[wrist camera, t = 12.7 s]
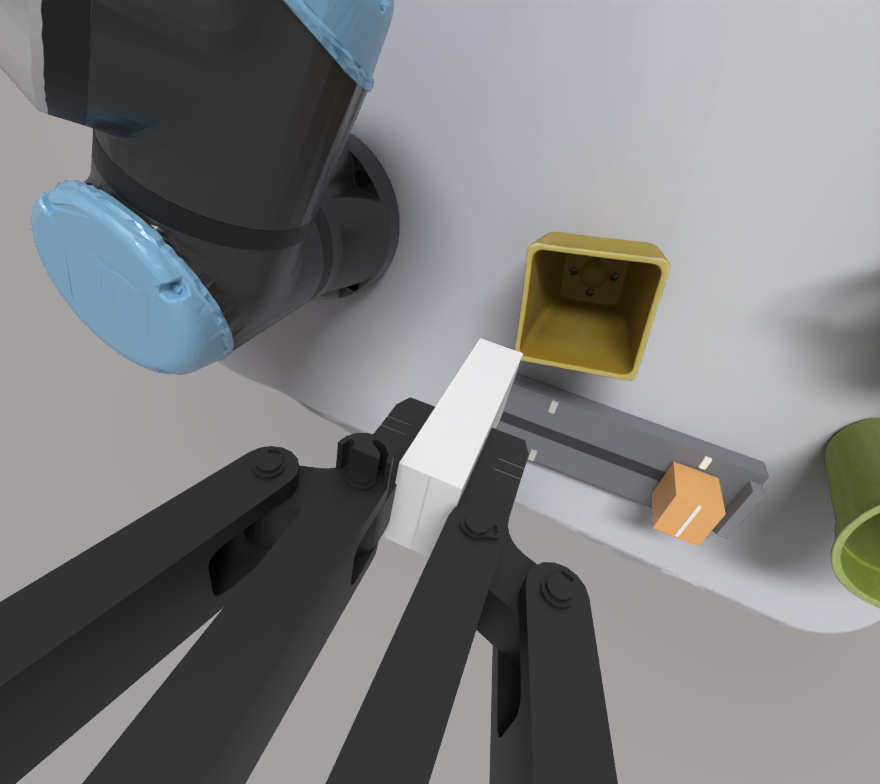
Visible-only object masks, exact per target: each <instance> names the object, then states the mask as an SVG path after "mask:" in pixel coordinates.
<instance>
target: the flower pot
mask: <svg viewBox="0 0 880 784" xmlns="http://www.w3.org/2000/svg"><path fill="white" fill-rule="evenodd" d="M597 257H599V258H597ZM572 268H577V270H578V271H577V273H576V274H572V273H571V269H572ZM669 269H670V263H669V261H668V260H667V259H666V257H665V256H664V255H663V253H662V252H661V251H660V249H659V248H658V247H657V246H655V245H653V244H651V243H646V242H636V241H627V240H618V239H608V238H600V237H592V236H584V235H576V234H569V233H562V232H551V233H548V234H546V235H545V236H543V237H541V238H540V239H538V240H537V241H536V242H534V243H532V244H531V245H530V246H529V248H528V251H527V259H526V269H525V279H524V288H523V297H522V304H521V311H520V318H519V324H518V331H517V337H516V343H515V351H518V352H521V353H523V355H522V358H521V360H522V361H527V362H532V363H538V364H543V365H548V366H554V367H559V368H564V369H570V370H575V371H580V372H585V373H590V374H595V375H600V376H605V377H610V378H615V379H621V380H629V381H632V380H634V379H635V377H636V376H637V374H638V371H639V367H640V364H641V360H642V357H643V353H644V350H645V347H646V343H647V340H648V337H649V334H650V330H651V327H652V324H653V320H654V317H655V314H656V311H657V308H658V305H659V301H660V298H661V295H662V292H663V290H664V287H665V283H666V280H667V277H668V273H669ZM613 273H616V274H617V275H618V278H617V279H615V280H613V279H611V274H613ZM588 289H592V290H593V294H592V295H588V294H587V293H586V291H587V290H588Z"/></svg>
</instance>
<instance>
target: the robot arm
mask: <svg viewBox="0 0 880 784" xmlns="http://www.w3.org/2000/svg"><path fill="white" fill-rule="evenodd" d="M393 10H394V0H0V68H1V69H2V70H3V71H4V73H5V74H6V75H7V76H8V77H9V78H10V79H11V80H12V82H13V83H14V84H15V85H16V86H17V87H18V88H19V90H20V91H21V92H22V93H23V94H24V95H25V96H26V97H27V99H28V100H29V101H30V102H31V103H32V104H33V105H34V107H35V108H36V109H37V110H39V111H40V112H43V113H46V114H48V115H52V116H55V117H59V118H62V119H65V120H69V121H72V122H75V123H79V124H82V125H85V126H87V127H91V128H93V144H92V160H91V173H90V176H89V177H88V179H87V180H86V181H84V182H81V181H78V180H76V181H62V182H59V183H58V185H57V186H56V187H55V188H54V189H53V190H50V191H47V192H44V193H43V194H42V195H40V196H39V197H38V199H37V200H36V201H35V203H34V206H33V211H32V215H31V225H32V233H33V238H34V242H35V244H36V248H37V251H38V254H39V256H40V259H41V261H42V263H43V265H44V267H45V269H46V271H47V273H48V275H49V277H50V278H51V280H52V282H53V283H54V285H55V286H56V288H57V290H58V291H59V292H60V294H61V295H62V297H63V298H64V299H65V300H66V302H67V303H68V304H69V306H70V307H71V309H72V310H73V311H74V312H75V313H76V315H77V316H78V317H79V318H80V319H81V320H82V321H83V322H84V324H85V325H86V326H88V328H89V329H91V330H92V331H93V332H94V333H95V334H96V335H97V336H98V337H99V338H100V339H101V340H102V341H104V342H105V343H106V344H107V345H108V346H110V347H111V348H112V349H114V350H115V351H117V352H118V353H119V354H121V355H122V356H124V357H125V358H127V359H129V360H130V361H132V362H134V363H136V364H138V365H140V366H142V367H144V368H147V369H149V370H152V371H155V372H159V373H167V374H169V373H172V374H179V375H182V374H187V373H191V372H194V371H197V370H199V369H200V368H203V367H205V366H207V365H209V364H211V363H213V362H216V361H218V360H222V359H224V358H226V357H228V356H229V355H230V354H231V352H232V351H233V350H235V349H236V348H238V347H239V346H241V345H242V344H244V343H245V342H247V341H249V340H250V339H252V338H253V337H255V336H256V335H258V334H259V333H261V332H262V331H264V330H265V329H267V328H268V327H270V326H271V325H273V324H275V323H276V322H278V321H279V320H281V319H282V318H284V317H285V316H287V315H288V314H290V313H291V312H293V311H294V310H296V309H297V308H299V307H301V306H302V305H304V304H305V303H307V302H308V301H310V300H321V299H334V298H342V297H347V296H350V295H353V294H355V293H358V292H360V291H361V290H363V289H365V288H366V287H367V286H369V285H370V284H372V283H373V282H374V281H376V280H377V279H378V278H379V277H380V276H381V275H382V274H383V273H384V272H385V270H386V269H387V267H388V266H389V264H390V262H391V260H392V258H393V256H394V253H395V250H396V247H397V243H398V237H399V213H398V206H397V201H396V197H395V194H394V191H393V188H392V185H391V183H390V180H389V178H388V176H387V174H386V172H385V170H384V169H383V167H382V165H381V164H380V162H379V161H378V159H377V158H376V157H375V155H374V154H373V153H372V152H371V151H370V150H369V148H368V147H367V146H366V145H365V144H364V143H362V142H361V141H360V140H359V139H358V138H356V137H355V136H354V135H352V134H351V133H350V132H351V130H352V127H353V125H354V122H355V120H356V118H357V115H358V113H359V110H360V108H361V106H362V103H363V101H364V98H365V96H366V93H367V92H371V90H372V88H373V83H374V81H373V78H372V76H373V73H374V70H375V67H376V63H377V60H378V58H379V55H380V52H381V49H382V46H383V43H384V40H385V38H386V35H387V32H388V29H389V26H390V23H391V20H392V16H393ZM522 355H523V353H521V352H518V351H515V350H512V349H509V348H506V347H504V346H501V345H498V344H495V343H492V342H489V341H487V340H484V339H481V338H480V339H479V341H478V342H477V344H476V345H475V347H474V349H473V350H472V352H471V353H470V355H469V356H468V358H467V359H466V361H465V362H464V364H463V365H462V367H461V369H460V370H459V372H458V373H457V375H456V376H455V378H454V379H453V381H452V382H451V384H450V385H449V387H448V389H447V390H446V392H445V393H444V395H443V396H442V398H441V399H440V401H439V402H438V404H437V405H436V407H434V406H432V405H429V404H426V403H424V402H421V401H419V400H416V399H413V398H411V397H410V398H408V399H406V400H404V401H402V402H400V403H398V404H397V405H396V406H395V407H394V408H393V410H392V411H391V412H390V414H389V415H388V417H386V419H385V420H384V421H383V423H382V425H381V426H379V428H378V429H377V430H376V432H375V433H374V434H369V433H355V434H352V435H349V436H346V437H345V438H343V439H342V440H340V441H339V442H338V450H337V462H336V468H329V469H324V468H314V467H306V466H299V463H298V459H297V457H296V456H295V455H294V454H293V453H292V452H291V451H288V450H286V449H284V448H281V447H273V446H269V447H261V448H258V449H256V450H253V451H251V452H249V453H247V454H245V455H244V456H242V457H240V458H239V459H237V460H235V461H234V462H232V463H230V464H229V465H227V466H226V467H224V468H222V469H220V470H219V471H217V472H216V473H214V474H212V475H211V476H209V477H207V478H206V479H204V480H202V481H201V482H199V483H197V484H196V485H194V486H192V487H191V488H189V489H187V490H186V491H184V492H182V493H181V494H179V495H177V496H176V497H174V498H172V499H171V500H169V501H167V502H166V503H164V504H162V505H161V506H159V507H157V508H156V509H154V510H152V511H151V512H149V513H147V514H146V515H144V516H142V517H141V518H139V519H137V520H136V521H134V522H132V523H131V524H129V525H128V526H126V527H124V528H122V529H121V530H119V531H117V532H116V533H114V534H113V535H111V536H109V537H107V538H106V539H104V540H102V541H101V542H99V543H98V544H96V545H94V546H92V547H91V548H89V549H88V550H86V551H84V552H83V553H81V554H79V555H78V556H76V557H74V558H73V559H71V560H69V561H68V562H66V563H64V564H63V565H61V566H60V567H58V568H56V569H54V570H53V571H51V572H49V573H48V574H46V575H44V576H43V577H41V578H39V579H38V580H36V581H34V582H33V583H31V584H29V585H28V586H26V587H24V588H23V589H21V590H19V591H18V592H16V593H14V594H13V595H11V596H9V597H8V598H6V599H4V600H3V601H1V602H0V784H16V783H17V782H18V781H19V780H20V779H21V778H23V777H24V776H25V775H26V774H27V773H29V772H30V771H31V770H32V769H33V768H34V767H36V766H37V765H38V764H39V763H40V762H41V761H43V760H44V759H45V758H46V757H47V756H49V755H50V754H51V753H52V752H53V751H55V749H57V748H58V747H59V746H60V745H62V744H63V743H64V742H65V741H66V740H67V739H69V738H70V737H71V736H72V735H73V734H74V733H76V732H77V731H78V730H79V729H80V728H82V727H83V726H84V725H85V724H86V723H88V722H89V721H90V720H91V719H92V718H94V717H95V716H96V715H97V714H98V713H99V712H100V711H102V710H103V709H104V708H105V707H106V706H108V705H109V704H110V703H111V702H112V701H114V700H115V699H116V698H117V697H118V696H119V695H121V694H122V693H123V692H124V691H125V690H127V689H128V688H129V687H130V686H131V685H132V684H134V683H135V682H136V681H137V680H138V679H139V678H140V677H142V676H143V675H144V674H145V673H146V672H148V671H149V670H150V669H151V668H153V667H154V666H155V665H156V664H157V663H158V662H159V661H161V660H162V659H163V658H164V657H166V656H167V655H168V654H169V653H170V652H171V651H173V650H174V649H175V648H176V647H177V646H179V645H180V644H181V643H182V642H183V641H184V640H186V639H187V638H188V637H189V636H190V635H192V634H193V633H194V632H195V631H196V630H197V629H199V628H200V627H201V626H202V625H203V624H205V623H206V622H207V621H208V620H209V619H210V618H212V617H213V616H214V615H215V614H216V613H217V612H219V611H220V610H221V609H222V608H223V607H224V608H223V609H222V610H221V612H220V613H219V614H218V615H217V617H216V618H215V619H214V620H213V622H212V623H211V624H210V625H209V627H208V628H207V629H206V630H205V631H204V633H203V634H202V635H201V636H200V638H199V639H198V640H197V641H196V643H195V644H194V645H193V646H192V648H191V649H190V650H189V652H188V653H187V654H186V655H185V657H184V658H183V659H182V660H181V661H180V663H179V664H178V665H177V666H176V668H175V669H174V670H173V672H172V673H171V674H170V675H169V676H168V678H167V679H166V680H165V681H164V683H163V684H162V685H161V686H160V688H159V689H158V690H157V691H156V692H155V694H154V695H153V696H152V697H151V699H150V700H149V701H148V702H147V704H146V705H145V706H144V707H143V709H142V710H141V711H140V712H139V714H138V715H137V716H136V717H135V719H134V720H133V721H132V722H131V724H130V725H129V726H128V727H127V729H126V730H125V731H124V732H123V734H122V735H121V736H120V737H119V739H118V740H117V741H116V742H115V744H114V745H113V746H112V747H111V748H110V750H109V751H108V752H107V753H106V755H105V756H104V757H103V759H102V760H101V761H100V762H99V763H98V765H97V766H96V767H95V768H94V770H93V771H92V772H91V773H90V775H89V776H88V777H87V778H86V780H85V781H84V782H83V783H82V784H245V783H246V782H247V780H248V778H249V776H250V774H251V772H252V771H253V769H254V767H255V766H256V764H257V762H258V760H259V759H260V757H261V755H262V753H263V752H264V750H265V748H266V746H267V745H268V743H269V741H270V739H271V738H272V736H273V734H274V732H275V731H276V729H277V727H278V725H279V723H280V722H281V720H282V718H283V716H284V715H285V713H286V711H287V709H288V708H289V706H290V704H291V702H292V700H293V699H294V697H295V695H296V693H297V692H298V690H299V688H300V687H301V685H302V683H303V681H304V680H305V678H306V676H307V674H308V672H309V671H310V669H311V667H312V665H313V664H314V662H315V660H316V658H317V657H318V655H319V653H320V651H321V650H322V648H323V646H324V644H325V643H326V641H327V639H328V637H329V636H330V634H331V632H332V630H333V628H334V627H335V625H336V623H337V621H338V620H339V618H340V616H341V614H342V612H343V611H344V609H345V607H346V605H347V604H348V602H349V600H350V598H351V597H352V595H353V593H354V592H355V589H356V588H357V586H358V584H359V583H360V581H361V579H362V577H363V576H364V574H365V572H366V570H367V569H368V567H369V565H370V563H371V562H372V560H373V558H374V556H375V554H376V550H377V546H378V541H379V539H380V538H381V536H382V534H383V533H384V531H385V529H386V533H385V538H387V539H389V540H391V541H393V542H395V543H398V544H400V545H402V546H404V547H407V548H409V549H411V550H414V551H416V552H418V553H420V554H422V555H425V556H427V557H429V559H428V561H427V564H426V566H425V568H424V570H423V572H422V575H421V577H420V579H419V581H418V583H417V585H416V588H415V590H414V592H413V594H412V597H411V599H410V601H409V603H408V605H407V607H406V609H405V612H404V614H403V616H402V618H401V621H400V623H399V625H398V627H397V629H396V631H395V634H394V636H393V638H392V640H391V642H390V644H389V647H388V649H387V651H386V653H385V655H384V658H383V660H382V662H381V664H380V666H379V668H378V671H377V673H376V675H375V677H374V679H373V681H372V684H371V686H370V688H369V690H368V693H367V695H366V697H365V699H364V701H363V703H362V706H361V708H360V710H359V712H358V714H357V717H356V719H355V721H354V723H353V725H352V728H351V730H350V732H349V734H348V736H347V738H346V741H345V743H344V745H343V747H342V749H341V751H340V754H339V756H338V758H337V760H336V763H335V765H334V767H333V769H332V771H331V773H330V775H329V778H328V780H327V782H326V784H429V780H430V777H431V774H432V770H433V767H434V764H435V761H436V758H437V754H438V751H439V748H440V745H441V742H442V738H443V735H444V732H445V728H446V726H447V722H448V719H449V716H450V713H451V709H452V706H453V703H454V700H455V696H456V693H457V690H458V687H459V684H460V680H461V677H462V674H463V671H464V667H465V664H466V661H467V658H468V654H469V651H470V648H471V645H472V642H473V638H474V635H475V632H476V630H477V631H479V633H481V634H482V635H483V636H484V637H485V638H486V639H487V640H488V641H489V642H490V643H491V644H493V657H492V701H491V745H490V746H491V747H490V784H618V782H617V775H616V769H615V763H614V756H613V749H612V743H611V736H610V730H609V723H608V717H607V711H606V704H605V697H604V691H603V684H602V678H601V671H600V665H599V658H598V652H597V645H596V639H595V633H594V626H593V619H592V614H591V606H590V600H589V596H588V593H587V590H586V587H585V585H584V584H583V583H582V581H581V580H580V579H579V577H578V576H577V575H576V574H574V573H573V572H572V571H571V570H569V569H568V568H567V567H565V566H562V565H559V564H556V563H548V562H543V563H541V564H538V565H537V564H536V563H535V562H533V561H532V560H531V559H529V558H528V557H527V556H525V555H524V554H523V553H522V552H521V551H520V550H519V549H518V548H517V547H516V545H515V544H514V543H513V541H512V539H511V537H510V534H509V530H508V521H509V516H510V513H511V510H512V507H513V503H514V500H515V497H516V494H517V490H518V487H519V484H520V480H521V478H522V474H523V471H524V468H525V465H526V461H527V458H528V455H529V453H528V449H527V445H526V441H525V440H523V439H521V438H518V437H516V436H513V435H510V434H508V433H505V432H502V431H500V430H497V429H496V427H497V425H498V423H499V420H500V418H501V416H502V413H503V410H504V407H505V404H506V401H507V398H508V396H509V393H510V390H511V387H512V384H513V381H514V378H515V375H516V373H517V370H518V367H519V364H520V361H521V358H522ZM386 527H387V528H386Z"/></svg>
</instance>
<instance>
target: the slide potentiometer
mask: <svg viewBox="0 0 880 784" xmlns="http://www.w3.org/2000/svg"><path fill="white" fill-rule="evenodd" d="M496 429H497V430H500V431H502V432H505V433H508V434H510V435H513V436H516V437H518V438H521V439H523V440H525V441H526V445H527V449H528V453H529V455H528V458H527V459H528V460H531V461H534V462H537V463H539V464H542V465H545V466H547V467H550V468H552V469H555V470H557V471H560V472H562V473H565V474H568V475H570V476H573V477H575V478H578V479H580V480H583V481H586V482H588V483H591V484H593V485H596V486H598V487H601V488H603V489H606V490H609V491H611V492H614V493H616V494H619V495H621V496H624V497H627V498H629V499H632V500H634V501H637V502H639V503H642V504H644V505H647V506H650V507H652V492H653V491H654V489H655V488H656V486H657V485H658V483H659V482H660V480H661V479H662V478H663V476H664V475H665V473H666V472H667V470H668V469H669V467H670V466H671V464H672V463H673V461H674V462H676V463H679V464H682V465H684V466H687V467H690V468H693V469H695V470H698V471H701V472H703V473H706V474H709V475H711V476H714V477H717V478H719V483H720V488H721V493H722V498H723V503H724V508H725V513H726V514H725V516H724V517H723V518H722V519H721V520H720V521H719V523H718V524H717V525H716V526H715V527H714V528H713V530H712V531H714V532H715V533H716V535H718V536H720V537H723V538H725V539H727V538H728V537H729V536H730V535H731V534H732V533H733V532H734V531H735V529H736V528H737V527H738V526H739V525H740V524H741V523H742V522H743V521H744V520H745V518H746V517H747V516H748V515H749V514H750V513H751V512H752V511H753V510H754V509H755V507H756V506H757V505H758V504H759V503H760V502H761V501H762V500H763V499H764V497H765V494H764V490H763V487H762V484H763V483H764V482H765V481H766V479H767V478H768V477H769V476H768V473H767V470H766V467H765V464H764V462H761V461H759V460H756V459H753V458H750V457H747V456H745V455H742V454H739V453H736V452H734V451H731V450H728V449H725V448H722V447H720V446H717V445H714V444H711V443H708V442H706V441H703V440H700V439H697V438H695V437H692V436H689V435H686V434H683V433H681V432H678V431H675V430H672V429H669V428H667V427H664V426H661V425H658V424H656V423H653V422H650V421H647V420H644V419H642V418H639V417H636V416H633V415H630V414H628V413H625V412H622V411H619V410H617V409H614V408H611V407H608V406H605V405H603V404H600V403H597V402H594V401H591V400H589V399H586V398H583V397H580V396H578V395H575V394H572V393H569V392H566V391H564V390H561V389H558V388H555V387H552V386H550V385H547V384H544V383H541V382H539V381H536V380H533V379H530V378H527V377H525V376H522V375H519V374H516V375H515V378H514V381H513V384H512V387H511V390H510V393H509V396H508V398H507V401H506V404H505V407H504V410H503V413H502V416H501V418H500V420H499V423H498V425H497V427H496Z"/></svg>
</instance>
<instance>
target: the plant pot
mask: <svg viewBox="0 0 880 784" xmlns="http://www.w3.org/2000/svg"><path fill="white" fill-rule="evenodd" d="M825 467H826V472H827V477H828V482H829V488H830V493H831V499H832V504H833V509H834V515H835V521H836V524H835V541H834V544H833V546H832V550H831V563H832V568H833V570H834V573H835V575H836V577H837V578H838V580H839V581H840V582H841V583H842V585H843V586H844V587H845V588H846V589H847V590H848V591H850V592H851V593H853V594H854V595H855V596H857V597H858V598H860V599H861V600H863V601H865V602H867V603H869V604H871V605H874V606H877V607H879V608H880V418H869V419H865V420H862V421H859V422H856V423H854V424H851V425H849V426H847V427H845V428H844V429H842V430H841V431H839V432H838V433H837V434H836V435H835V436H834V437H833V438H832V439H831V440H830V441H829V443H828V444H827V447H826V450H825Z"/></svg>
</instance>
